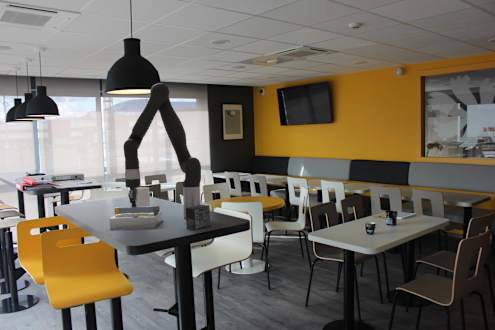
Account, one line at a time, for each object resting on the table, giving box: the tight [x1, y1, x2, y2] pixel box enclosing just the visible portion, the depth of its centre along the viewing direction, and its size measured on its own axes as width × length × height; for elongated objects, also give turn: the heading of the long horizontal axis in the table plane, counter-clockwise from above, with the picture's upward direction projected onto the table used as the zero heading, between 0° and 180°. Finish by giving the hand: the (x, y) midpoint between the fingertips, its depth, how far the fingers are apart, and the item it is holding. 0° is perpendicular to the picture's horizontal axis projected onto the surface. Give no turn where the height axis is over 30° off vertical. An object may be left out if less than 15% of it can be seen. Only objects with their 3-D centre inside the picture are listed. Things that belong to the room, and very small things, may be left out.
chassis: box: [109, 210, 163, 230], centre depth 204 cm, size 22×18×6 cm
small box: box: [185, 204, 211, 231], centre depth 192 cm, size 11×6×10 cm, turn 141°
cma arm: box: [114, 205, 161, 215], centre depth 204 cm, size 22×4×3 cm, turn 93°
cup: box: [136, 186, 151, 207], centre depth 229 cm, size 8×8×16 cm
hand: (134, 210), depth 207 cm, fingers closed
